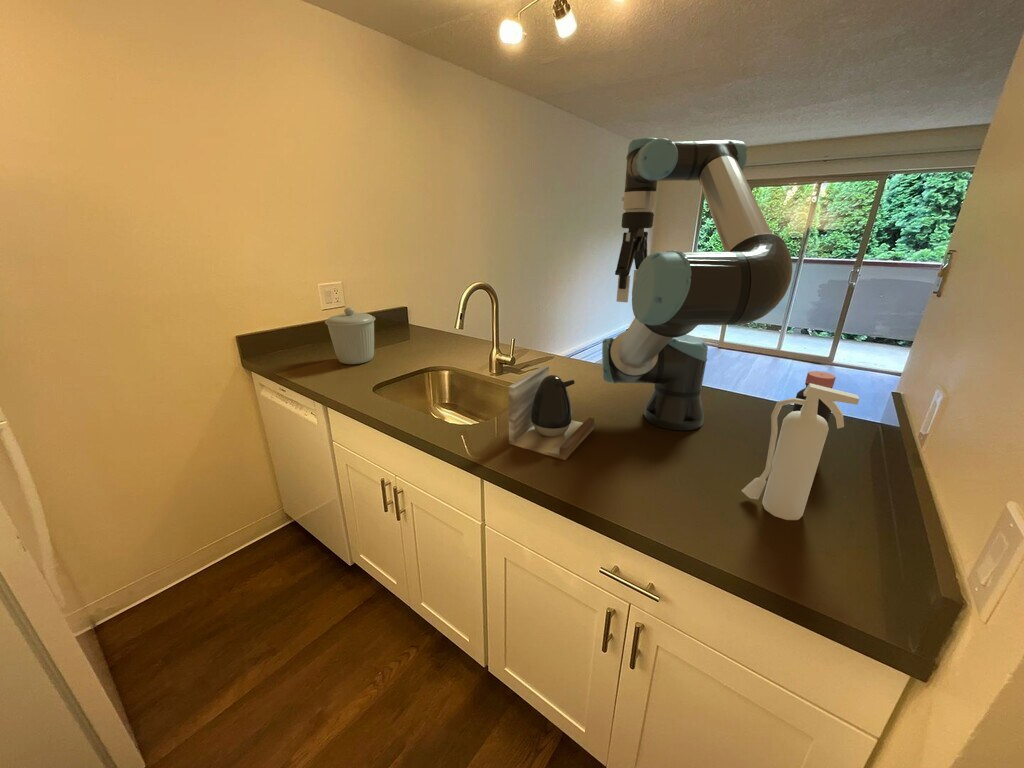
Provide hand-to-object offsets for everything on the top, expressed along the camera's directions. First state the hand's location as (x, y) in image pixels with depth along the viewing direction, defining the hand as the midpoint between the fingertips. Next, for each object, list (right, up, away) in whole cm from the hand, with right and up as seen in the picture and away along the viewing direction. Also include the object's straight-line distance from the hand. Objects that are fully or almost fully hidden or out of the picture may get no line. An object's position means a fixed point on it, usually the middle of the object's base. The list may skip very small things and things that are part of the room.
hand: (629, 298), depth 110 cm
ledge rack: (-21, -36, -5) cm, 42 cm away
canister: (-93, -14, +54) cm, 108 cm away
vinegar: (+35, -40, -14) cm, 55 cm away
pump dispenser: (-21, -35, -5) cm, 41 cm away
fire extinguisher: (+19, -46, -32) cm, 59 cm away
